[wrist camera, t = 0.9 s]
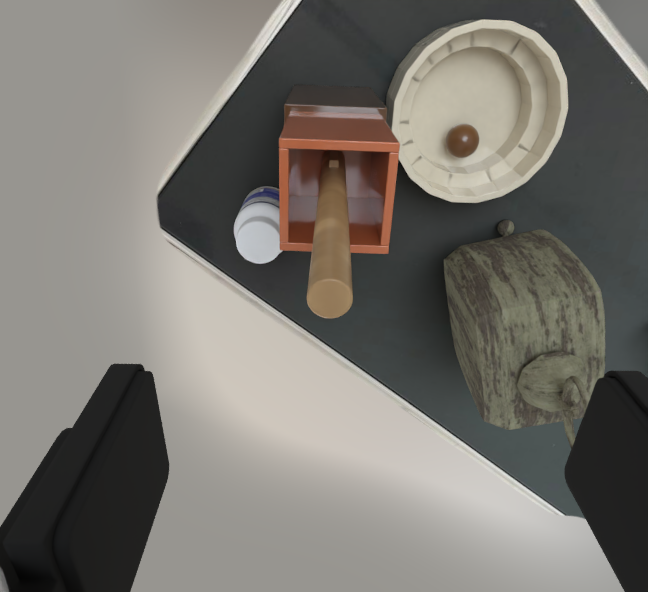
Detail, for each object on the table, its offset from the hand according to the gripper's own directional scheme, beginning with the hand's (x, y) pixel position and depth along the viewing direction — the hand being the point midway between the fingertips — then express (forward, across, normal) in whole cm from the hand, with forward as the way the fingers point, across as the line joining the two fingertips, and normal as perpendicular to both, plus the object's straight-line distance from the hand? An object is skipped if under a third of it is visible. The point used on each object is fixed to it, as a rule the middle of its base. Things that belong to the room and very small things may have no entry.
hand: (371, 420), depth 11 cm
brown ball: (+38, -12, +2) cm, 40 cm away
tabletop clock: (+40, -17, +16) cm, 47 cm away
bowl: (+40, -12, -1) cm, 42 cm away
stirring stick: (+27, 0, +1) cm, 27 cm away
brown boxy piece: (+40, 0, +1) cm, 41 cm away
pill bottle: (+41, +6, +9) cm, 42 cm away
